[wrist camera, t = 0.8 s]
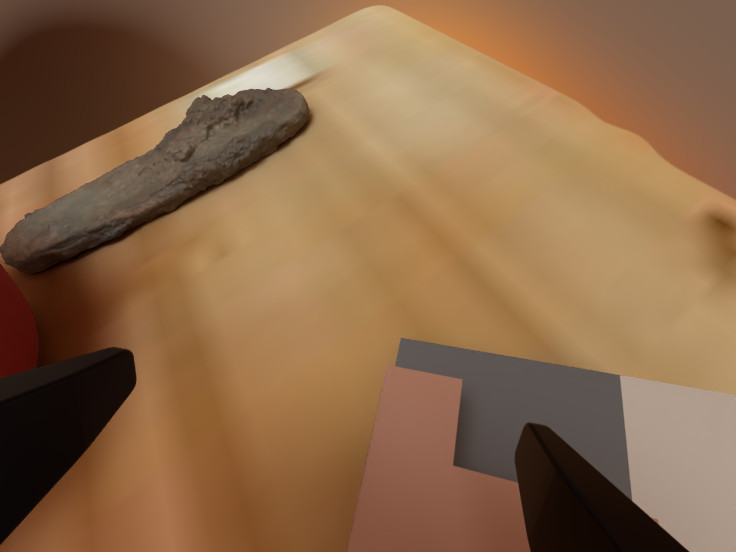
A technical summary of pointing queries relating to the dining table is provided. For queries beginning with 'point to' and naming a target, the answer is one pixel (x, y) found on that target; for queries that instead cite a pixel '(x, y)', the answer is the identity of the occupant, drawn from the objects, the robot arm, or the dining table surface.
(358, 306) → the dining table surface
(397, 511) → the t block
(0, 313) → the mixing bowl
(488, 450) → the board
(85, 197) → the grey wooden log
